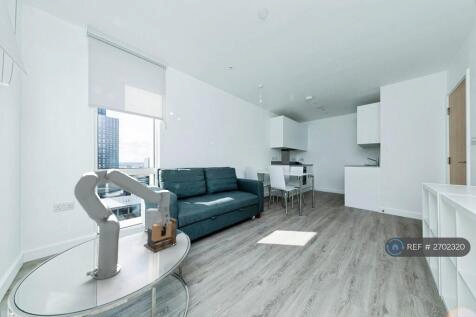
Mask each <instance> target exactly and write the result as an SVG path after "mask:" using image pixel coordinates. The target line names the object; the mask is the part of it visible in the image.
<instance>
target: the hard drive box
mask: <svg viewBox="0 0 476 317" xmlns="http://www.w3.org/2000/svg"><path fill="white" fill-rule="evenodd" d="M157 212H158V208H151V207H150V208H148V209H146V210H145V213H144V214H145V217H144V218H145V219H144V222H145V223H144V231H145V230H147V231H148V228H150V229H152V226H153V225H154V224H157V222H156V220H157Z"/></svg>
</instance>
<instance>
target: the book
mask: <svg viewBox="0 0 476 317" xmlns="http://www.w3.org/2000/svg"><path fill="white" fill-rule="evenodd" d="M168 226H169V227H168V228H167V230H166V235H165V236H161V231H162V226H161V225H160V224H154V225H153V226H152V239H151V240H153V241H154V242H155V241H158V240H161V239H165V238H168V237H171V228H172V222H170V224H169V225H168Z"/></svg>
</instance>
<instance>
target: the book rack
mask: <svg viewBox="0 0 476 317" xmlns="http://www.w3.org/2000/svg"><path fill="white" fill-rule="evenodd" d="M170 222H172V228H171V237H168V238H165V239H161V240H158V241H155V242H154V241H153V240H151V239H152V229H150V228H148V232H147V243H144V244H143V246H144V247H145V248H147V249H148V250H149V251H151V252H152V253H156V252H160V251H163V250H165V249H166V248H167V249H168V248H170V247H172V246H171V245H173V244H175V243H176V244H177V231H178V230H177V229H178V228H177V226H178V224H177V223H178V220H177V219H175V218H173V217H170ZM176 244H175V245H176ZM169 246H170V247H169ZM173 246H174V245H173Z"/></svg>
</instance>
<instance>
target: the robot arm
mask: <svg viewBox="0 0 476 317" xmlns="http://www.w3.org/2000/svg"><path fill="white" fill-rule="evenodd" d="M104 184H105V185H106V184H111V185H114V187H117V188H119V189H121V190H123V191H125V192H128V193H129V194H131V195H133V196H136V197H138V198H140V199H142V200H144V201H146V202H148V203H149V204H151V205H152V204H153V205H157V209H158V212H157V220H156V222H157V224H160V225H161V226H162V231H161V236H165V235H166V230H167V228H168V227H169V226H168V225H169V224H170V218H171V217H170V216H171V215H170V202H171V201H170V200H171V191H169V190H167V189H166V190H154V189H152V188H150V187H149V186H147V185H145V184H144V183H142V182H141V181H139V180H137V179H136V178H133V177H132V176H130V175H128V174H127V173H125V172H123V171H121V170H119V169H116V168H111V169H106V170H105V169H104V170H97V171H96V170H95V171H90V172H86V173H84V174H82V175H81V176H80V178H79V180H78V181H77V182H76V184H75V186H74V190H73V193H74V197H75V199H76V200H77V202H78V203H79V205H80V206H81V208H82V209H83V210H84V211H85V213H86V214H87V216H88V218H90V219H91V220H93V221H94V222H95V223H96V224H97V226H98V231H99V232H98V234H99V235H98V247H97V248H98V253H97V266H95V268H94V269H93V270H89V271H86V276H87V277H88V276H90V277H93V279H96V280H104V279H105V280H106V279H109V278H112V277H113V276H116V275H117V274H118V273H119V272H120V271H121V265H120V264H118V263H119V240H120V239H119V238H120V230H121V225H120V221H119V219H118V218H117V216H116V215H115V213H114V212H113V211H112V209H111V207H110V206H109V205H108V203H107V202H106V201H103V200H102V198H100V195H98V193H97V191H96V188H97V187H98V186H100V185H104Z"/></svg>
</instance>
